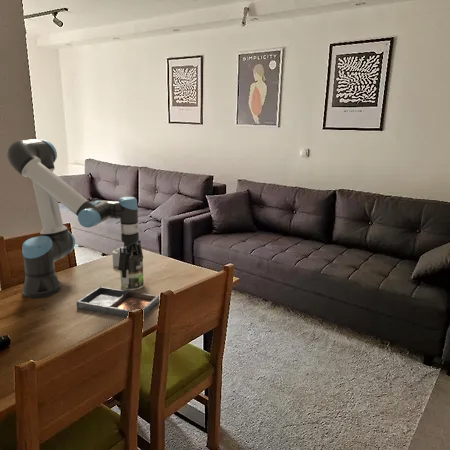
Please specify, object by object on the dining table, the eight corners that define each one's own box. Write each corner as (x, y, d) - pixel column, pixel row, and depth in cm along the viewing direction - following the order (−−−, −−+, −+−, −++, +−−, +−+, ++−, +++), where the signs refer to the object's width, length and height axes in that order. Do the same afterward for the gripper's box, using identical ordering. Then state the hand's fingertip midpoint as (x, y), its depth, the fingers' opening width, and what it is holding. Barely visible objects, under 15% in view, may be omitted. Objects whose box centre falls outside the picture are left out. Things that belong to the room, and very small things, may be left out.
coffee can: (147, 282, 180) (146, 253, 177) (138, 291, 170) (137, 261, 167) (126, 280, 182) (125, 252, 178) (116, 289, 172) (115, 259, 169)
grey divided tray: (77, 308, 154) (76, 301, 153) (100, 292, 169) (100, 286, 168) (140, 320, 146) (140, 313, 145) (159, 302, 160) (159, 296, 160)
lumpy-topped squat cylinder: (124, 259, 210) (123, 244, 208) (142, 263, 204) (142, 248, 202) (110, 265, 201) (109, 249, 199) (129, 269, 195) (128, 253, 193)
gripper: (123, 240, 158) (126, 290, 164) (149, 226, 179) (151, 271, 185) (107, 238, 160) (110, 287, 166) (135, 225, 181) (137, 269, 187)
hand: (132, 279), depth 175 cm, fingers closed on coffee can, 10 cm apart
